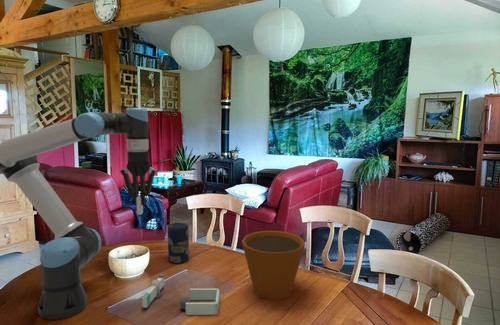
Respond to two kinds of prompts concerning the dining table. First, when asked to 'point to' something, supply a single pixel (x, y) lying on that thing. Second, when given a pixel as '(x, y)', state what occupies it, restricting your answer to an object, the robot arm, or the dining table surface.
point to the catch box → (203, 307)
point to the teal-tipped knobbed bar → (153, 290)
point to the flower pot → (273, 261)
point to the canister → (178, 242)
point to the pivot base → (158, 296)
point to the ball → (184, 302)
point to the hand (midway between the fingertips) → (140, 213)
